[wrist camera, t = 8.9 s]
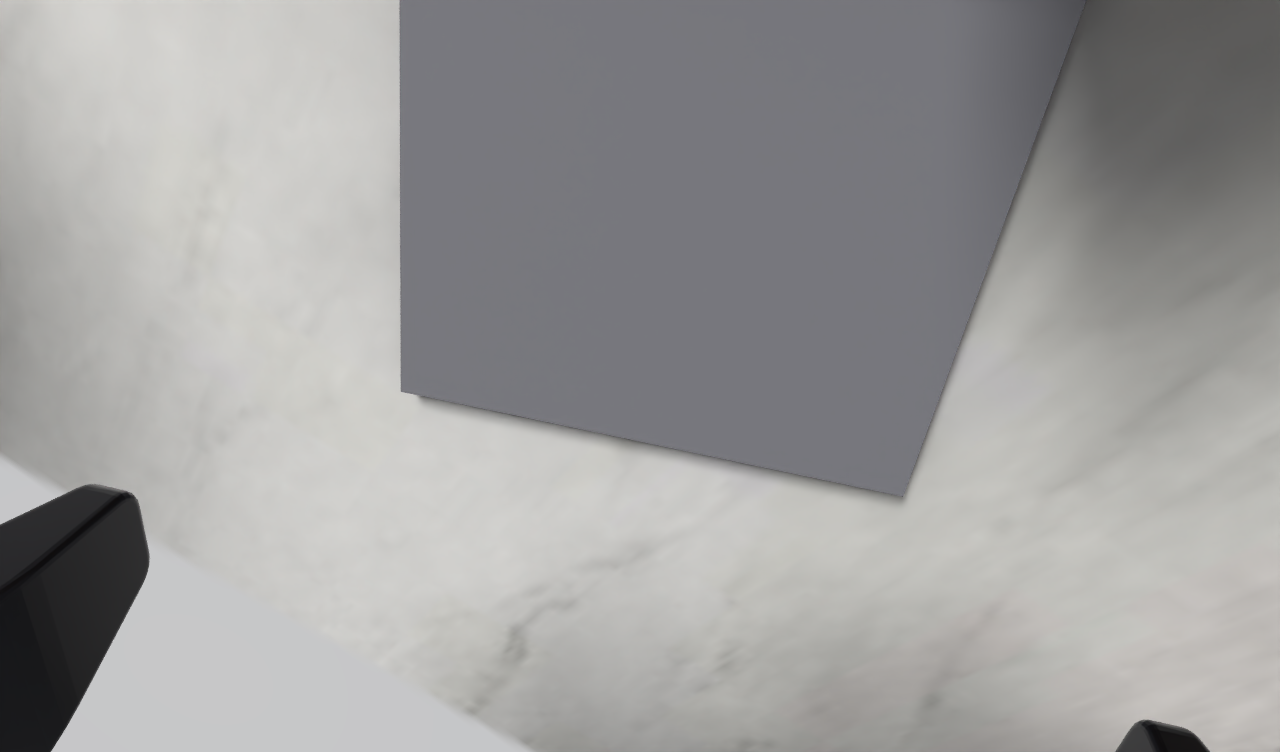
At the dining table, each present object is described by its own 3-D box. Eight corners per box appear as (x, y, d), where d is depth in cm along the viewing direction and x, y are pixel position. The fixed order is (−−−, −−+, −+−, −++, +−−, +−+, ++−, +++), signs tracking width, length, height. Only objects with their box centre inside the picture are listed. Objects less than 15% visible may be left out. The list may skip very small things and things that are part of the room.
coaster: (1097, -58, 16) (1104, -50, 15) (901, 478, 22) (903, 496, 22) (412, -177, 17) (398, -172, 16) (410, 376, 23) (400, 391, 22)
